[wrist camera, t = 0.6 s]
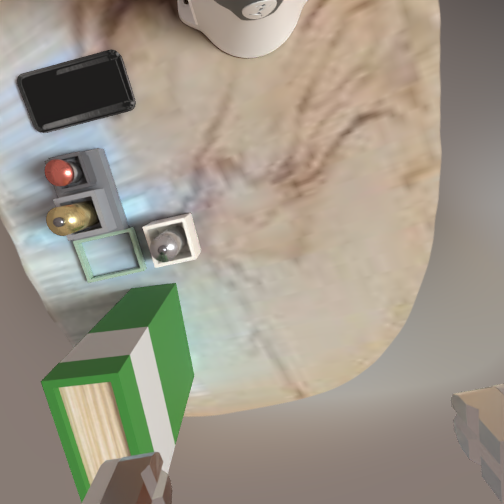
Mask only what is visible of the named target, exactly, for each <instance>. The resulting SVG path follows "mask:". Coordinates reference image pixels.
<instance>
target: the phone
mask: <svg viewBox="0 0 504 504" xmlns="http://www.w3.org/2000/svg"><path fill="white" fill-rule="evenodd" d="M17 84H18V87H19V89H20V92H21V94H22V97H23V100H24V102H25V105H26V107H27V110H28V112H29V115H30V118H31V120H32V123H33V125H34V127H35V129H36V130H37V131H39V132H43V133H48V132H52V131H56V130H59V129H63V128H67V127H71V126H75V125H78V124H82V123H86V122H90V121H94V120H97V119H101V118H105V117H109V116H113V115H116V114H120V113H124V112H128V111H131V110H133V109H134V107H135V104H136V102H135V98H134V95H133V91H132V88H131V85H130V81H129V78H128V75H127V72H126V68H125V65H124V62H123V59H122V56H121V55H120V54H119V53H118V52H117V51H115V50H107V51H104V52H100V53H96V54H93V55H89V56H85V57H82V58H78V59H75V60H71V61H67V62H64V63H60V64H56V65H53V66H49V67H45V68H42V69H38V70H34V71H31V72H27V73H23V74H21V75H19V77H18V79H17Z"/></svg>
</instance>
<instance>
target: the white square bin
mask: <svg viewBox="0 0 504 504" xmlns="http://www.w3.org/2000/svg"><path fill="white" fill-rule="evenodd" d="M174 225H178V226H181V227H183V228H184V230H185V233H186V237H187V240H188V241H187V243H186V244H185V245H184V247H183V248H182V249H181V250H180V251H179V253H178V254H177V255H176V256H175V257H174V259H172V260H171V261H169V262H160V261H157V260H156V259H154V258H153V256H152V255H151V256H152V259H153V262H154V266H155V268H157V267H162V266H167V265H171V264H176V263H180V262H185V261H190V260H194V259H197V257H198V255H199V254H200V252H201V247H200V244H199V240H198V236H197V232H196V229H195V225H194V221H193V218H192V214H191V213H187V214H183V215H179V216H174V217H170V218H165V219H161V220H156V221H152V222H151V223H149V224H147V225H145V226H143V230H144V234H145V237H146V240H147V243H148V246H149V250H150V244H151V242H152V241H153V239H155V238H156V237H157V236H159V235H160V234H161V233H163V232H164V231H165V230H167V229H168V228H169V227H171V226H174Z"/></svg>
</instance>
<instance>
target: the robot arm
mask: <svg viewBox="0 0 504 504" xmlns="http://www.w3.org/2000/svg"><path fill="white" fill-rule="evenodd" d="M184 1H185V0H177V3H178V13H179V17H180V19H181V20H182V22H184V23H185V24H187V25H188V26H190V27H193V28H195V29H197V30H200V31H201V32H203V33H204V34H205V35H206V36H207V37H208V38H209V40H210V41H211V42H212V43H213V44H214V45H216V46H217V47H218V48H219V49H221V50H222V51H224V52H226V53H228V54H230V55H233V56H236V57H242V58H255V57H260V56H263V55H266V54H268V53H270V52H272V51H274V50H275V49H277V48H278V47H279V46H281V45H282V44H283V43H284V42H285V41H286V40H287V38H288V37H289V36H290V34H291V33H292V31H293V30H294V28H295V26H296V24H297V22H298V19H299V16H300V13H301V11H302V8H303V6H304V4H305V3H306V2H307V1H308V0H188V2H189V4H187V5H186V4H184ZM451 405H452V407H453V409H454V410H455V411H456V412H457V414H456V416H455V417H454V419H453V426H454V432H455V434H456V437H457V440H458V442H459V444H460V446H461V448H462V450H463V451H464V453H465V454H466V455H467V457H468V458H469V460H471V461H473V462H474V463H476V464H478V465H480V466H481V472H482V477H483V479H484V480H485V481H486V483H487V484H488V485H489V487H490V488H491V489H492V490H493V492H494V493H495V495H496V496H497V497H498V499H499V500H500V501H501V503H504V383H503V384H499V385H494V386H491V387H485V388H480V389H475V390H470V391H465V392H460V393H455V394H453V395H452V398H451ZM162 465H163V459H162V457H161V455H160V453H159V452H151V453H145V454H139V455H133V456H127V457H122V458H117V459H111V460H106V461H105V462H104V463H102V464H101V466H100V468H99V470H98V472H97V474H96V476H95V478H94V480H93V482H92V484H91V486H90V488H89V490H88V492H87V494H86V496H85V498H84V500H83V502H82V504H172V485H171V480H170V478H169V475H168V473H166V472H165V471H163V470H162Z"/></svg>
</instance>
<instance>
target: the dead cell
mask: <svg viewBox="0 0 504 504" xmlns="http://www.w3.org/2000/svg"><path fill="white" fill-rule="evenodd" d="M187 241H188V240H187V237H186V233H185V230H184V228H183V227H181V226H178V225H174V226H171V227H169V228H168V229H167V230H165V231H164V232H163V233H161V234H160V235H159V236H157V237H156V238H155V239H153V241H152V242H151V244H150V253H151V255H152V256H153V258H154V259H156V260H157V261H160V262H169V261H171V260H172V259H174V257H175V256H176V255H177V254H178V253H179V251H180V250H181V249H182V248H183V247H184V245H185V244H186V243H187Z"/></svg>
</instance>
